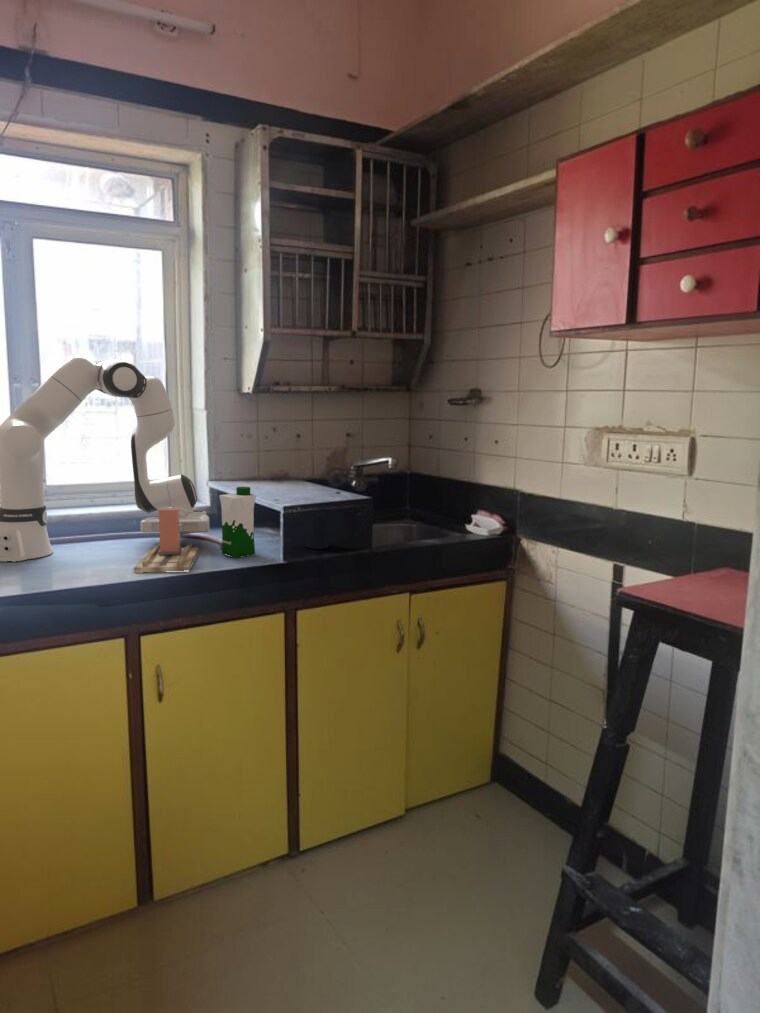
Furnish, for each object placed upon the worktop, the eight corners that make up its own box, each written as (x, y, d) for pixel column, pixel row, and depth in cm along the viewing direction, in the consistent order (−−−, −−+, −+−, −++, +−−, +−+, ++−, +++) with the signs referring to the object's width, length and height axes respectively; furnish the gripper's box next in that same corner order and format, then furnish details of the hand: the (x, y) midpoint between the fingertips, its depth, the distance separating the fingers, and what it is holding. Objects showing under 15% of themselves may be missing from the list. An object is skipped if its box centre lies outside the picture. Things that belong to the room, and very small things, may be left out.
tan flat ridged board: (134, 573, 186) (133, 563, 186) (150, 552, 210) (150, 544, 209) (188, 572, 188) (188, 562, 188) (198, 552, 212) (198, 543, 211)
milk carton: (259, 554, 210) (258, 488, 207) (233, 559, 203) (232, 491, 200) (242, 549, 216) (241, 485, 213) (217, 554, 210) (215, 487, 206)
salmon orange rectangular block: (158, 554, 200) (156, 510, 198) (161, 550, 205) (159, 507, 203) (179, 554, 201) (178, 510, 199) (182, 550, 206) (180, 507, 204)
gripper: (144, 511, 219) (135, 519, 205) (211, 511, 222) (207, 519, 208) (144, 531, 220) (136, 540, 206) (211, 530, 223) (207, 539, 209)
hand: (172, 529), depth 207 cm, fingers closed
